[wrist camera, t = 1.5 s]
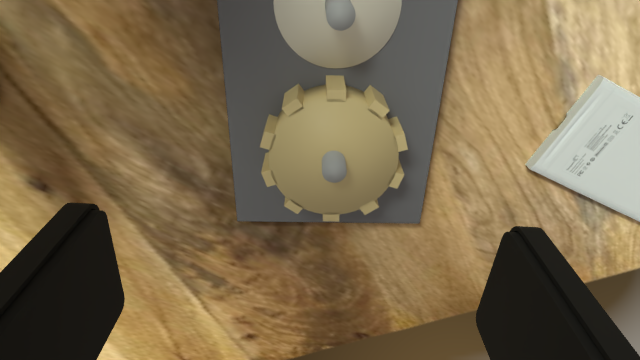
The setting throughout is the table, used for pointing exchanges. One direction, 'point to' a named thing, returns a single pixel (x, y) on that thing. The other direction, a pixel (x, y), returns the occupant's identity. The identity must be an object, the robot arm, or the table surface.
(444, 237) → the table surface
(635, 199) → the external hard drive
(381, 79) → the gear board
